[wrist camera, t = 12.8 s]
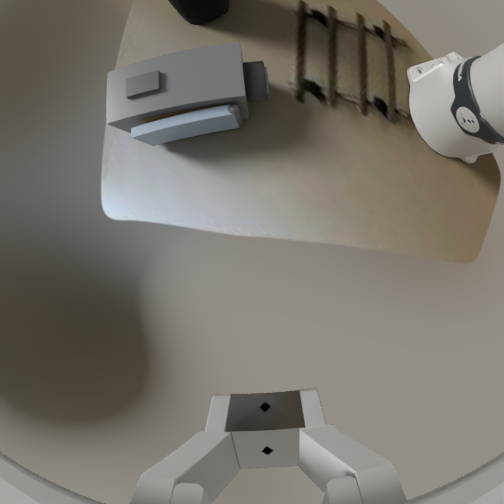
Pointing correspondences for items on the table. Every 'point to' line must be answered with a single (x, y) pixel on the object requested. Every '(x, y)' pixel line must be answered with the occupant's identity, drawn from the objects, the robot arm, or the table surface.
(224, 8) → the portable speaker
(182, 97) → the camcorder body
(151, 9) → the table surface
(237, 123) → the side panel
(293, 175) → the table surface
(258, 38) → the table surface
